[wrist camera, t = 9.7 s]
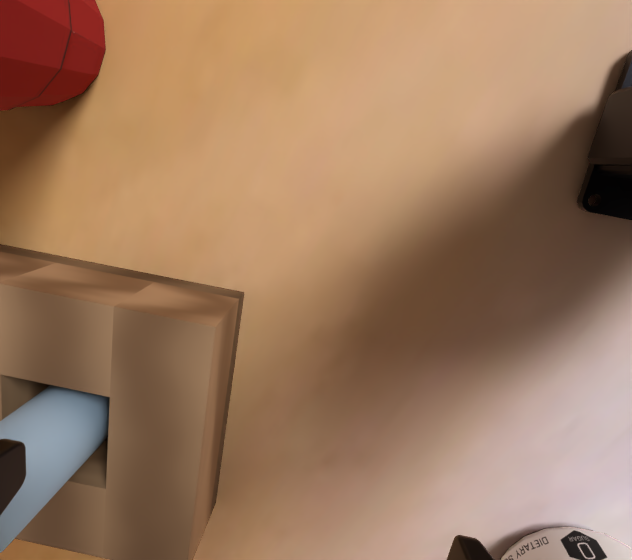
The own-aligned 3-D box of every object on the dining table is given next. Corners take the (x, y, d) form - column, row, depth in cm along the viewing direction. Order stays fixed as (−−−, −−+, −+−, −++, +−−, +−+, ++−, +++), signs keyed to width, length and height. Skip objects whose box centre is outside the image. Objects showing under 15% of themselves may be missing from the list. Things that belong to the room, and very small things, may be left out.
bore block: (244, 292, 21) (215, 327, 16) (215, 502, 24) (186, 576, 20) (-9, 242, 21) (-102, 263, 17) (0, 456, 25) (-74, 519, 20)
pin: (133, 428, 22) (14, 568, 14) (68, 415, 22) (-85, 546, 15) (136, 367, 21) (10, 482, 13) (68, 354, 21) (-95, 460, 14)
